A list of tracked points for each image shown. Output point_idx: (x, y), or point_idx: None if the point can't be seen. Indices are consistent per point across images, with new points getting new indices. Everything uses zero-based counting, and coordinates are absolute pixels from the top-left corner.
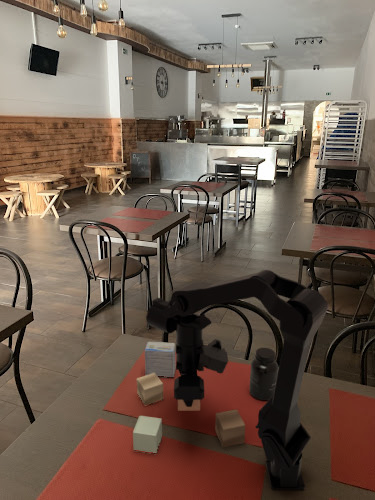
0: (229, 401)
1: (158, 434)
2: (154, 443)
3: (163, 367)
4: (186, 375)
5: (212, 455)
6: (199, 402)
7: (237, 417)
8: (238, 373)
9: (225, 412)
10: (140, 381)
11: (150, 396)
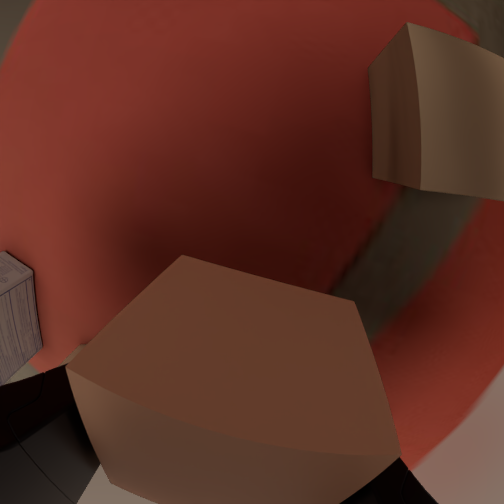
0: (180, 46)
1: None
2: None
3: (8, 321)
4: (76, 461)
5: (477, 244)
6: (369, 355)
7: (476, 64)
8: (52, 17)
9: (430, 112)
10: None
11: None
